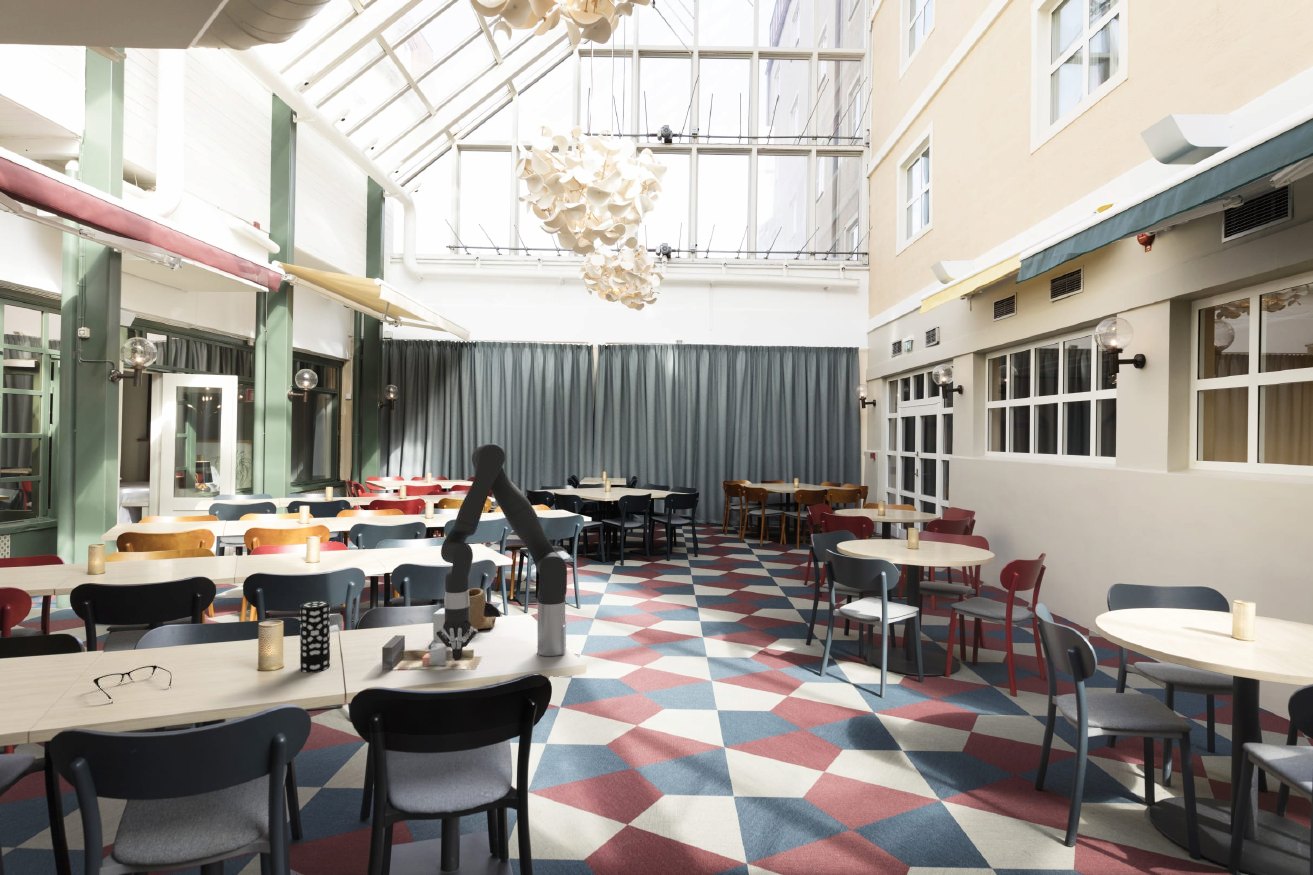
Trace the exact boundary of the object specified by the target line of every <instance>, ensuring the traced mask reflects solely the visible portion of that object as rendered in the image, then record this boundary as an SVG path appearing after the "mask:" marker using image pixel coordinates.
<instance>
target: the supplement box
mask: <svg viewBox="0 0 1313 875" xmlns="http://www.w3.org/2000/svg"><path fill="white" fill-rule="evenodd" d="M432 618H433V619H432V621H433V622H432V624H433V625H432V628H433V630H432V631H433V634H432V636H433V640H436V643H443V642H442V641H441V639H440V638H439V637H438V636H437V634H436V633H437V631H438V630H439V629H442V628H443V625H444V623H445V607H441V608H439V609H438V610H437V611H435V612H434V613H432ZM445 632H446V631H445ZM445 635H446V636H447V637H448V638H449V639H450V641H451V638H450V636H449V635H448V634H447V633H445ZM433 640H432V641H433ZM457 643H458V642H457Z"/></svg>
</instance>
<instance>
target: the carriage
mask: <svg viewBox="0 0 1313 875" xmlns="http://www.w3.org/2000/svg"><path fill="white" fill-rule="evenodd" d="M451 649H452V648H451V647H446V645H445V644H444V643H436V640H432V641H431V642H430V643H429V644H428V649H427V650H429V666H441V665H447V663H448V662H449V661H450V659H451Z"/></svg>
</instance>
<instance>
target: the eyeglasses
mask: <svg viewBox="0 0 1313 875" xmlns="http://www.w3.org/2000/svg"><path fill="white" fill-rule="evenodd" d="M146 668H152V673H151V675H154V673H155V670H156V669H160V670H163V671H166V672H168V673H169V674H170V680H169V685H168V687H169V686H170V687H171V685H172V673H171V671H169V670H167V669H164V668H163V667H161V666H159V665H155V664H154V665H146V666H141V667H138V668H136V669H132V670H130V671H127V672H123V673H120V672H119V673H111V674H106V675H102V676H99V677H96V678H94V679H93V684H95V685H96V687H98V689H100V690H101V691H102V692H103V693H104V694H105V695H106V697H107V698H108V700H109V699H112V697H111V695H109V694H108V693H107V692H106V691H105V690H103V688H102V687H101V686H100V684H99V680H100V679H103V678H105V677H109V676H121V679H120V682H121V683H123V682H124V680H125V676H128V678H129V680H130V681H132V680H133V678H132V676H131V673H133V672H135V671H138V670H142V669H146ZM120 682H119V683H120ZM100 687H101V688H102V689H101V688H100Z"/></svg>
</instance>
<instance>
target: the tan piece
mask: <svg viewBox="0 0 1313 875" xmlns="http://www.w3.org/2000/svg"><path fill="white" fill-rule="evenodd" d="M468 590H469V612H470V623H471V627H473V628H474V629H478V630H483V629H492V628H494V626H495V624H496V621H497V620H496V619H497V617H496V616H485V607H486V604H487V602H486V601H487V598H486V593H485V591H484V590H483V589H482V588H480V587H473V588H468Z"/></svg>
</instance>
